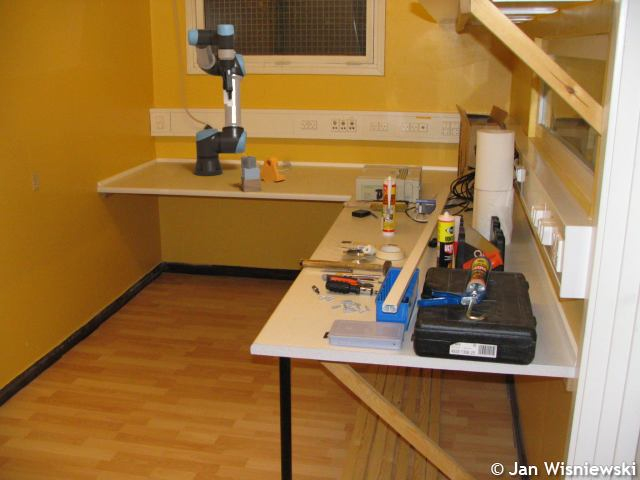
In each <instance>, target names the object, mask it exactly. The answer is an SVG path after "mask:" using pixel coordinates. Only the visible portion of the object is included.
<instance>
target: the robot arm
mask: <svg viewBox="0 0 640 480" xmlns="http://www.w3.org/2000/svg"><path fill="white" fill-rule="evenodd" d="M234 27H235V26H234V25H233V24H218V25H217V29H216V28H215V29H214V28H213V29H206V28H205V29H204V28H203V29H201V28H193V29H189V30H188V31H187V40H188V41H187V43H188V45H189V46H193V47H194V48H195V52H196V56H197V58H196V62H197V65H198V67H199V68H200V70H201V71H203V73H206V74H207V75H209V76H212V77H220V78H221V81H222V90H223V91H222V94H223V104H224V125H223V127H222V128H221V131H219V129H218V128H206V129H202V130H198V131H197V132H196V133H195V147H196V161H195V164H194V168H193V172H194V173H193V174H194V175H195V176H203V177H204V176H205V177H207V176H210V177H211V176H217V175H218V176H219V175H222V174H223V166H222V163H221V160H220V158H219V157H220V154H223V155H225V154H228V155H229V154H231V155H233V154H236V155H237V154H243V153H245V151H246V147H247V138H248V137H247V136H248V132H247V131H246V130H245V128H244V126H243V125H242V100H241V99H242V97H241V96H242V95H241V92H242V91H241V83H242V82H243V80H244V77H246V74H247V73H246V68H245V65H246V64H245V61H244V56H243V55H242V53H241V54H239V53H237V52H236V51H235V41H236V35H235V29H234ZM212 46H213V47H215V46H217V47H218V48H217V53H213V51H212Z"/></svg>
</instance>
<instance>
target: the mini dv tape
mask: <svg viewBox="0 0 640 480" xmlns="http://www.w3.org/2000/svg"><path fill="white" fill-rule="evenodd" d="M414 205H415V208H414V214H415V213H419V214H418V215H421V214H420V213H427V214H426V215H430V214H431V213H432V212H433V211H434V210H435V208H436V207H437V199H425V198H416V199H415V204H414ZM436 209H437V208H436Z"/></svg>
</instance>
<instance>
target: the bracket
mask: <svg viewBox="0 0 640 480" xmlns="http://www.w3.org/2000/svg"><path fill="white" fill-rule="evenodd" d="M278 166H279V160H278V158H277V157H276V156H272V157H268V158H265V159H264V162H263V165H262V168H261V171H260V179H261V180H264V182H268V183H276V182H280V181H284V180H286V176H285V174H280V173H279V170H278Z"/></svg>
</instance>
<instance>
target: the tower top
mask: <svg viewBox="0 0 640 480" xmlns="http://www.w3.org/2000/svg"><path fill="white" fill-rule="evenodd" d="M260 174H261V172H260V167H258V166H257V165H256V168H251V169H246V168H241V177H243V178H244V179H245V180H248V179H260Z"/></svg>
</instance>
